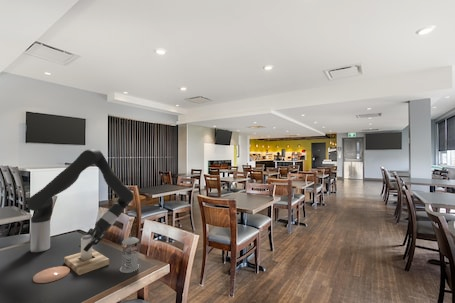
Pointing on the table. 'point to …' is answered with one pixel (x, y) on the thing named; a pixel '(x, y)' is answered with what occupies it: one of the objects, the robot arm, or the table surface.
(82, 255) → the pepper mill
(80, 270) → the mill caddy
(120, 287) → the table surface
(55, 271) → the terracotta plate
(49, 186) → the robot arm
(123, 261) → the french press
